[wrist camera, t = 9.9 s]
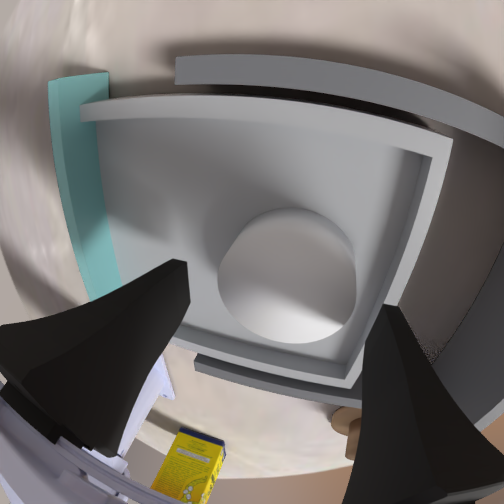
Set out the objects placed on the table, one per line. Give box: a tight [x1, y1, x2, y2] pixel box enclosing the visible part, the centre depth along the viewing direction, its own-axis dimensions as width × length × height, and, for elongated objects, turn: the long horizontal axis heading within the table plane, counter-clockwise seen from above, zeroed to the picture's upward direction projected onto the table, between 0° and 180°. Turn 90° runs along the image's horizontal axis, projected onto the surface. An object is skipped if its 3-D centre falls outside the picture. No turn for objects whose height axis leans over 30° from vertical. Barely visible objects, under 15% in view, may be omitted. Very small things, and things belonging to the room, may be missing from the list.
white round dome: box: [217, 208, 357, 344], centre depth 11 cm, size 5×5×2 cm
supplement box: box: [150, 427, 226, 504], centre depth 27 cm, size 6×6×11 cm
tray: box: [48, 72, 453, 389], centre depth 12 cm, size 15×16×3 cm
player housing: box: [175, 54, 504, 432], centre depth 10 cm, size 16×16×6 cm
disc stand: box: [331, 406, 362, 460], centre depth 18 cm, size 6×6×4 cm
